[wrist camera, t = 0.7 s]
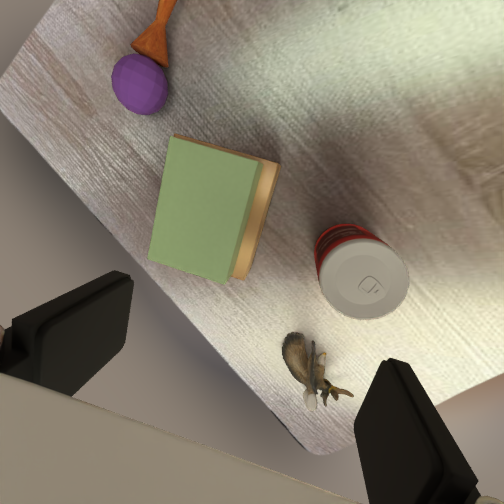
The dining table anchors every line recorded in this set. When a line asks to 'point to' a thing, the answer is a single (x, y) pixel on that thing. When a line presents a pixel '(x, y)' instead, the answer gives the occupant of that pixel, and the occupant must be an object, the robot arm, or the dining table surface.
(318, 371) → the eagle figurine
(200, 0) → the dining table surface
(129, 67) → the purple wooden maraca
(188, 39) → the dining table surface
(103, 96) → the dining table surface
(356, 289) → the canned food
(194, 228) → the sage block
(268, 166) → the maple block
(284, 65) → the dining table surface
